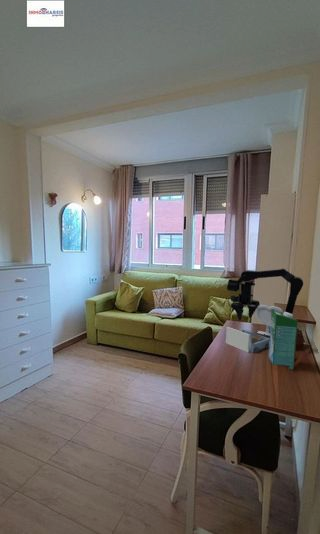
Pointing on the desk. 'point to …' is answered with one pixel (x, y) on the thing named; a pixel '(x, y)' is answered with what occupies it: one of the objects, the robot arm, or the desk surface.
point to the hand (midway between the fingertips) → (244, 319)
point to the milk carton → (282, 338)
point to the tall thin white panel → (238, 339)
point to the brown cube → (256, 339)
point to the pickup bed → (258, 345)
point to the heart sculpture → (265, 316)
